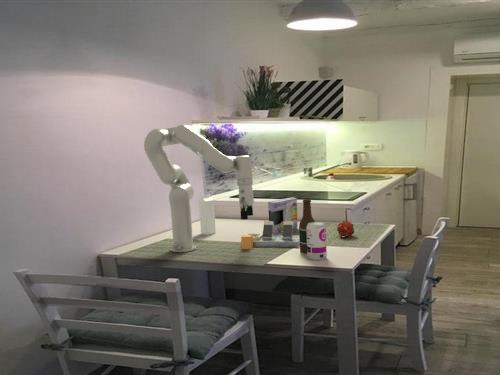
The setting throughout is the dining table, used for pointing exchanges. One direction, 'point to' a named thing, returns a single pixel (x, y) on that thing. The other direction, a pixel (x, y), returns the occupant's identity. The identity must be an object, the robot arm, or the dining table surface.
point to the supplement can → (316, 241)
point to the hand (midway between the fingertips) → (247, 217)
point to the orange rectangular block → (247, 241)
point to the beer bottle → (305, 225)
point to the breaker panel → (274, 241)
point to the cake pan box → (282, 213)
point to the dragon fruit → (345, 229)
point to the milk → (207, 215)
